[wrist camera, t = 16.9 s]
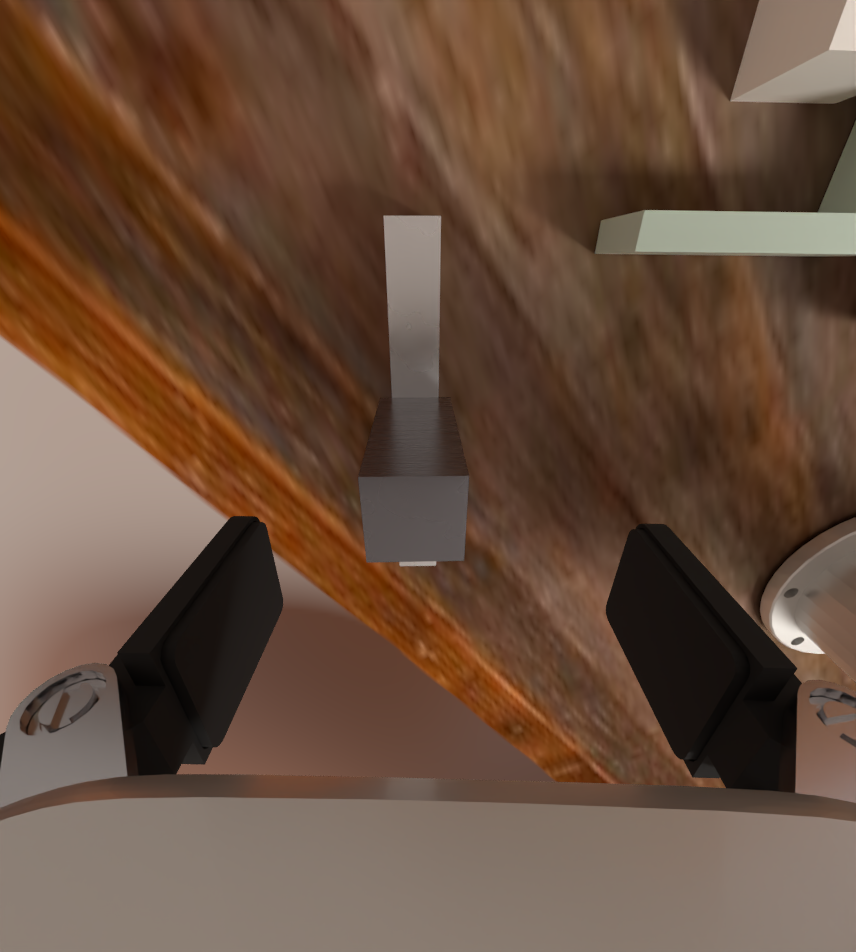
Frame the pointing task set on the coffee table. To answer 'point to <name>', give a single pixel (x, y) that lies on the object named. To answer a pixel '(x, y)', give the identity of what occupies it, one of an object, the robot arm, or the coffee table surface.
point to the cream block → (799, 53)
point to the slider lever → (414, 417)
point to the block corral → (745, 226)
